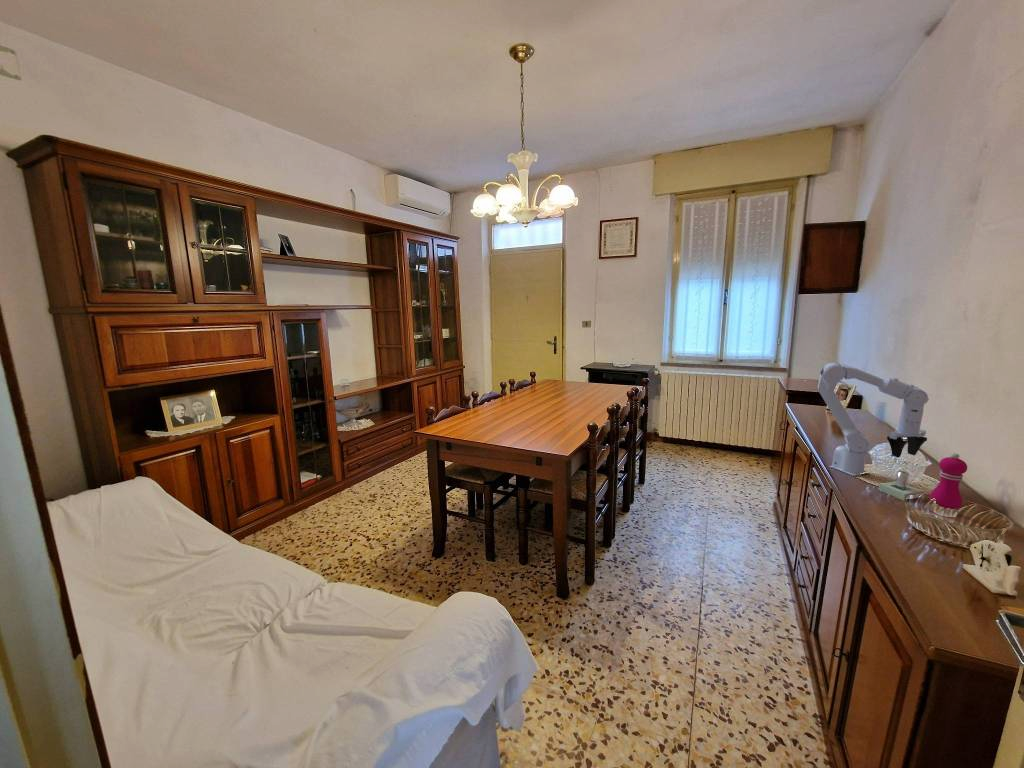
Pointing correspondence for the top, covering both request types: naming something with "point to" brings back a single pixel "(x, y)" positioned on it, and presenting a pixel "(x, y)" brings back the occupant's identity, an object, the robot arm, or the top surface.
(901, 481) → the peg
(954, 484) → the pepper mill
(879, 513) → the top surface
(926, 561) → the top surface
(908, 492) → the socket block
